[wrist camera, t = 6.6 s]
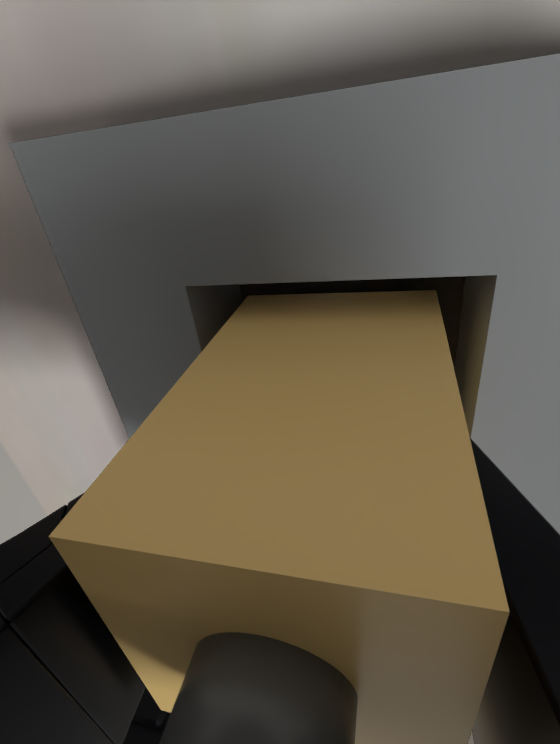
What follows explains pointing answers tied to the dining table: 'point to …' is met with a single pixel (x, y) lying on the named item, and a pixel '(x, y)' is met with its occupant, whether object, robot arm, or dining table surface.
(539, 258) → the socket
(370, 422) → the plug
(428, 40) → the dining table surface
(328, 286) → the dining table surface
